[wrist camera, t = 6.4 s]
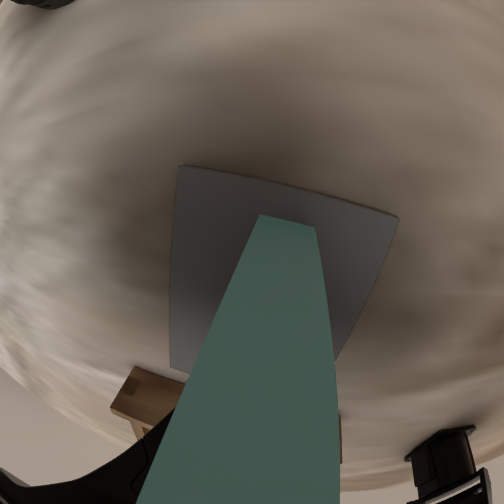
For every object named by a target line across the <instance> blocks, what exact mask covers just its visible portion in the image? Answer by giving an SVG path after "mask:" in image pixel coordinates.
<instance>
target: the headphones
mask: <svg viewBox="0 0 504 504" xmlns="http://www.w3.org/2000/svg"><path fill="white" fill-rule="evenodd" d="M11 1H13V2H15V3H18V4H22V5H27V4H29V5H33V6H36V7H41V8H45V9H55V8H58V7H60V6H62V5H65V4H67V3H69V2H70V1H72V0H11Z"/></svg>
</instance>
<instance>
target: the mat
mask: <svg viewBox="0 0 504 504" xmlns="http://www.w3.org/2000/svg"><path fill="white" fill-rule="evenodd" d="M260 214H262V215H266V216H270V217H274V218H279V219H283V220H287V221H291V222H295V223H299V224H303V225H307V226H311V227H315V231H316V236H317V241H318V247H319V253H320V258H321V264H322V270H323V277H324V283H325V290H326V297H327V304H328V311H329V319H330V327H331V335H332V344H333V353H334V362H335V360H336V359H337V357H338V355H339V353H340V351H341V350H342V348H343V346H344V344H345V342H346V340H347V339H348V337H349V335H350V333H351V331H352V329H353V327H354V325H355V323H356V321H357V319H358V317H359V315H360V313H361V311H362V309H363V307H364V305H365V303H366V301H367V299H368V296H369V294H370V292H371V290H372V288H373V285H374V283H375V281H376V279H377V276H378V274H379V272H380V269H381V267H382V265H383V262H384V260H385V257H386V255H387V252H388V250H389V247H390V244H391V242H392V239H393V236H394V234H395V231H396V228H397V225H398V223H399V220H400V219H399V218H398V217H397V216H395V215H392V214H388V213H385V212H382V211H379V210H376V209H373V208H369V207H366V206H363V205H359V204H356V203H352V202H349V201H346V200H342V199H338V198H335V197H331V196H327V195H324V194H320V193H316V192H312V191H308V190H304V189H300V188H296V187H292V186H288V185H284V184H279V183H275V182H271V181H266V180H262V179H257V178H252V177H247V176H243V175H238V174H232V173H227V172H222V171H217V170H211V169H205V168H200V167H194V166H187V165H180V166H179V169H178V178H177V186H176V196H175V206H174V218H173V231H172V246H171V265H170V294H169V347H170V368H173V369H176V370H179V371H182V372H185V373H189V374H190V373H191V370H192V368H193V366H194V363H195V361H196V359H197V356H198V354H199V352H200V349H201V347H202V345H203V343H204V340H205V338H206V336H207V333H208V331H209V329H210V326H211V324H212V322H213V319H214V317H215V315H216V312H217V310H218V308H219V306H220V303H221V301H222V299H223V296H224V294H225V292H226V290H227V287H228V285H229V283H230V280H231V278H232V276H233V274H234V271H235V269H236V267H237V264H238V262H239V260H240V258H241V255H242V253H243V251H244V249H245V246H246V244H247V242H248V240H249V237H250V235H251V233H252V230H253V228H254V226H255V224H256V221H257V219H258V217H259V215H260Z"/></svg>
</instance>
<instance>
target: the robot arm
mask: <svg viewBox="0 0 504 504" xmlns="http://www.w3.org/2000/svg"><path fill="white" fill-rule="evenodd" d="M175 408H176V407H175ZM175 408H174V409H173V410H171V411H170V412H169V413H168V414H167V415H166V416H165V417H164V418H163V419H162V420H161V421H160V422H158V423H157V424H156V425H155V426H154V427H153V428H152V429H151V430H150V431H148V432H147V433H146V434H145V435H144V436H143V439H142V438H140V439H139V440H138V441H137V442H136V443H135V444H134V445H132V446H131V447H130V448H129V449H127V450H126V451H125V452H123V453H122V454H120V455H119V456H117V457H116V458H114V459H113V460H112V461H110V462H108V463H106V464H105V465H103V466H101V467H100V468H98V469H96V470H94V471H93V472H91V473H89V474H87V475H85V476H83V477H81V478H78V479H75V480H72V481H67V482H61V483H56V484H49V485H41V486H30V485H28V484H26V483H24V482H23V481H21V480H20V479H18V478H17V477H15V476H13V475H12V474H10V473H9V472H7V471H6V470H4V469H3V468H0V504H136V502H137V499H138V497H139V494H140V492H141V490H142V487H143V485H144V482H145V480H146V477H147V475H148V473H149V470H150V468H151V465H152V463H153V461H154V458H155V456H156V453H157V451H158V449H159V446H160V444H161V441H162V439H163V437H164V434H165V432H166V429H167V427H168V425H169V422H170V420H171V418H172V415H173V413H174V410H175ZM475 430H476V427H475V426H470V427H465V428H459V429H453V430H447V431H441V432H439V433H437V434H436V435H434V436H433V437H432V438H431V439H429V440H428V441H427V442H426V443H424V444H423V445H422V446H421V447H419V448H418V449H417V450H415V451H414V452H413V453H411V454H410V455H408V456H407V457H406V458H404V461H405V462H412V469H413V476H414V484H415V487H417V488H418V496H419V499H418V500H415V501H410V502H407V503H406V504H429V503H432V502H434V501H436V500H439V499H441V498H444V497H446V496H448V495H450V494H452V493H455V492H456V491H459V490H461V489H463V488H465V487H466V486H469V485H471V484H472V483H474V482H476V481H478V480H479V479H480V483H479V484H477V485H474V486H473V487H471V488H469V489H467V490H465V491H463V492H461V493H459V494H457V495H455V496H453V497H450V498H448V499H446V500H444V501H441V502H439V503H436V504H492V491H491V482H490V478H489V474H488V470H487V469H486V468H484V467H482V468H481V469H479V471H477V472H476V467H475V463H474V459H473V455H472V451H471V447H470V444H469V440H468V436H469V435H470V434H471V433H472V432H473V431H475ZM481 490H482V491H481ZM479 491H481V492H479Z"/></svg>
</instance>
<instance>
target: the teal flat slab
mask: <svg viewBox="0 0 504 504" xmlns="http://www.w3.org/2000/svg"><path fill="white" fill-rule="evenodd" d="M136 504H340V440H339V417H338V400H337V386H336V374H335V363H334V353H333V344H332V335H331V327H330V319H329V311H328V304H327V297H326V290H325V283H324V277H323V270H322V264H321V258H320V253H319V247H318V241H317V236H316V231H315V227H311V226H307V225H303V224H299V223H295V222H291V221H287V220H283V219H279V218H274V217H270V216H266V215H262V214H260V215H259V217H258V219H257V221H256V224H255V226H254V228H253V230H252V233H251V235H250V237H249V240H248V242H247V244H246V246H245V249H244V251H243V253H242V255H241V258H240V260H239V262H238V264H237V267H236V269H235V271H234V274H233V276H232V278H231V280H230V283H229V285H228V287H227V290H226V292H225V294H224V296H223V299H222V301H221V303H220V306H219V308H218V310H217V312H216V315H215V317H214V319H213V322H212V324H211V326H210V329H209V331H208V333H207V336H206V338H205V340H204V343H203V345H202V347H201V349H200V352H199V354H198V356H197V359H196V361H195V363H194V366H193V368H192V370H191V373H190V375H189V377H188V380H187V382H186V384H185V387H184V389H183V392H182V394H181V396H180V399H179V401H178V403H177V406H176V408H175V410H174V413H173V415H172V418H171V420H170V422H169V425H168V427H167V429H166V432H165V434H164V437H163V439H162V441H161V444H160V446H159V449H158V451H157V453H156V456H155V458H154V461H153V463H152V465H151V468H150V470H149V473H148V475H147V477H146V480H145V482H144V485H143V487H142V490H141V492H140V494H139V497H138V499H137V502H136Z"/></svg>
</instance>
